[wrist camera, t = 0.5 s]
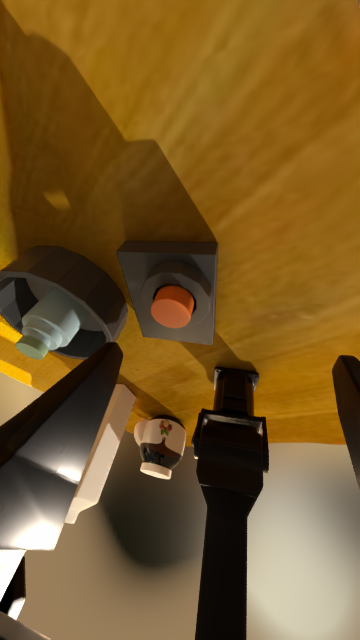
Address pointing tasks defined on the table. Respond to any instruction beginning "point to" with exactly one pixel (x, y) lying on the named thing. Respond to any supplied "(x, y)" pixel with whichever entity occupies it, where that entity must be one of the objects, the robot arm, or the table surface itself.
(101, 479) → the milk
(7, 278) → the bottle warmer
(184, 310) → the stop button
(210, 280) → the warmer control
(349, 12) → the table surface
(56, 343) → the bottle
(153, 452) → the spread jar
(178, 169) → the table surface
